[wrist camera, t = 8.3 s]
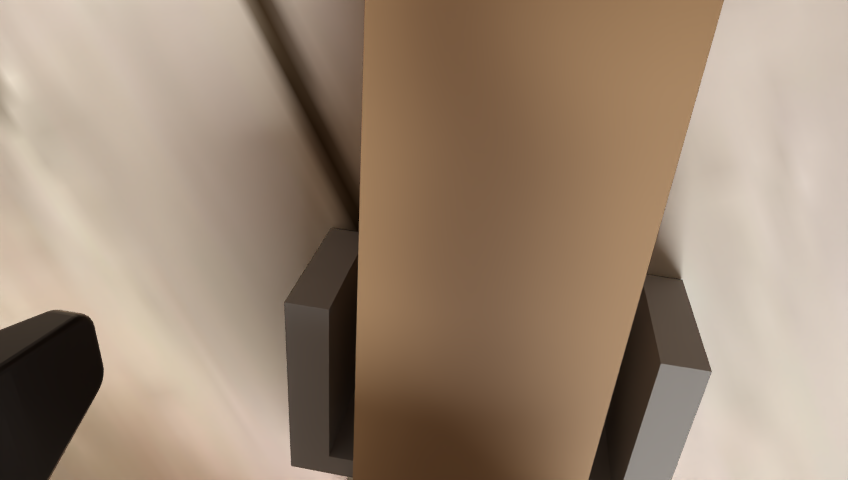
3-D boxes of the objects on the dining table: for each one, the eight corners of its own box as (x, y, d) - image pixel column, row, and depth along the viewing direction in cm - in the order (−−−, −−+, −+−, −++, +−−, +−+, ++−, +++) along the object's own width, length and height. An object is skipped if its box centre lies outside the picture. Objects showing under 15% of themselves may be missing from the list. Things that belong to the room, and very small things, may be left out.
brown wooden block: (709, -220, 12) (801, -276, 7) (569, 377, 19) (574, 527, 14) (435, -237, 12) (371, -299, 8) (397, 348, 19) (352, 485, 15)
